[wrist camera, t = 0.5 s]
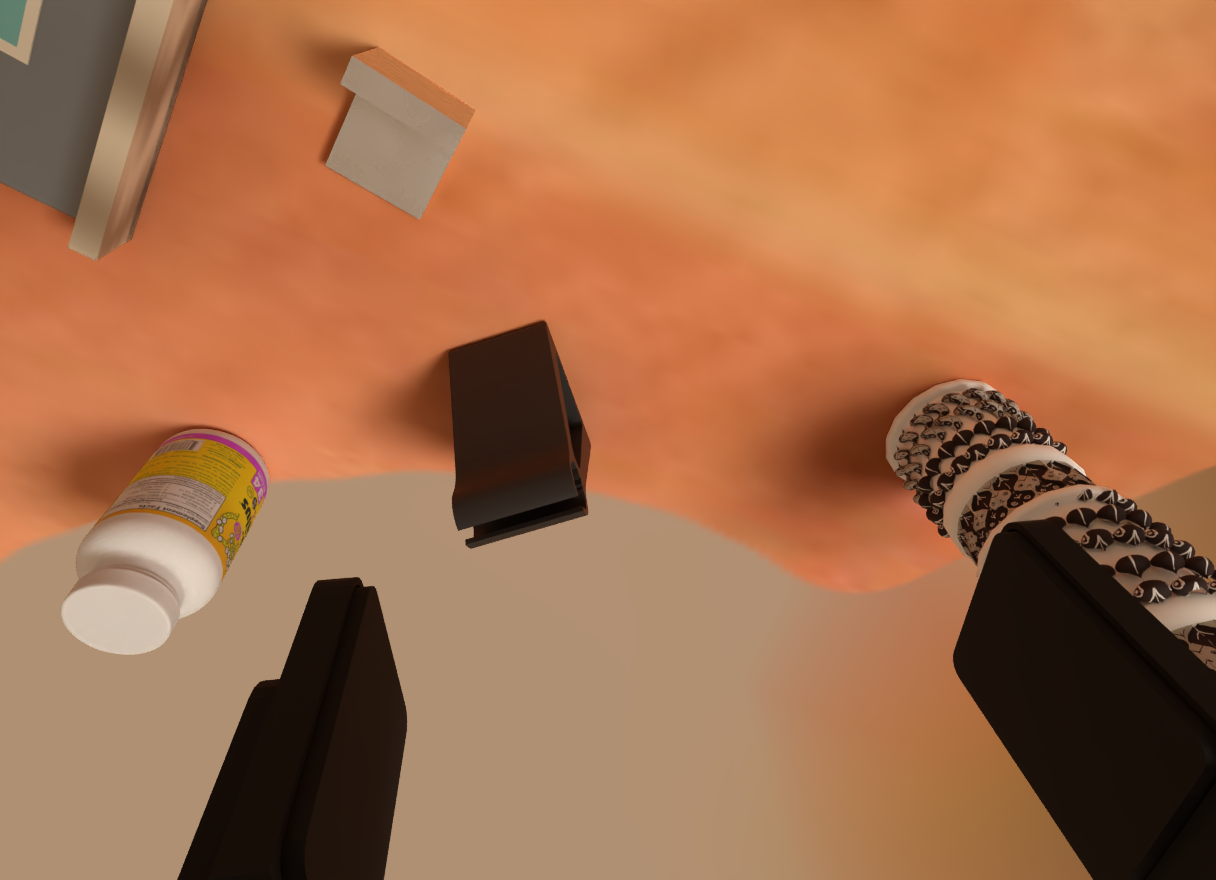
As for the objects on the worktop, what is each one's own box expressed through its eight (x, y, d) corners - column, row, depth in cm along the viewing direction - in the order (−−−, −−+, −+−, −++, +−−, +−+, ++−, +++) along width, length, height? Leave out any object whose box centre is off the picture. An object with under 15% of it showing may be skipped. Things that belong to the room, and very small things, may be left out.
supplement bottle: (248, 526, 47) (162, 686, 36) (143, 481, 44) (16, 640, 33) (291, 455, 44) (213, 605, 33) (182, 404, 41) (59, 548, 31)
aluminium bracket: (379, 47, 33) (352, 55, 28) (475, 109, 35) (466, 128, 30) (330, 161, 35) (296, 188, 30) (422, 214, 37) (405, 249, 32)
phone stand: (590, 443, 46) (607, 570, 36) (502, 468, 46) (494, 601, 36) (546, 319, 41) (551, 426, 31) (449, 349, 41) (422, 463, 31)
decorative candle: (1030, 367, 46) (1459, 685, 25) (993, 483, 51) (1323, 830, 30) (893, 377, 45) (1212, 711, 24) (869, 493, 50) (1116, 855, 29)
